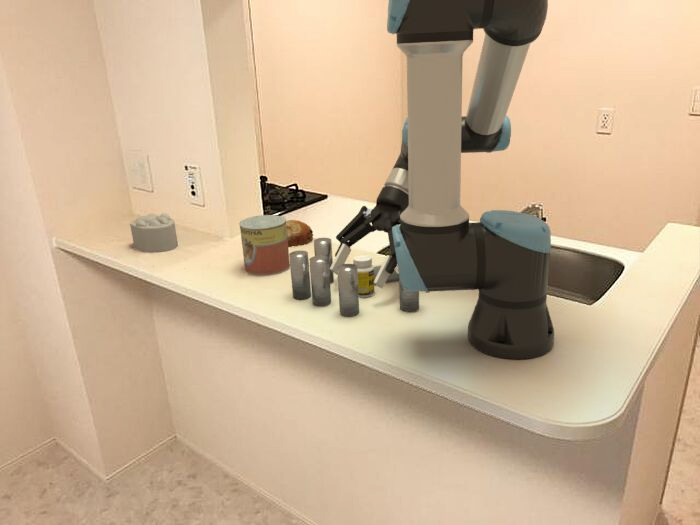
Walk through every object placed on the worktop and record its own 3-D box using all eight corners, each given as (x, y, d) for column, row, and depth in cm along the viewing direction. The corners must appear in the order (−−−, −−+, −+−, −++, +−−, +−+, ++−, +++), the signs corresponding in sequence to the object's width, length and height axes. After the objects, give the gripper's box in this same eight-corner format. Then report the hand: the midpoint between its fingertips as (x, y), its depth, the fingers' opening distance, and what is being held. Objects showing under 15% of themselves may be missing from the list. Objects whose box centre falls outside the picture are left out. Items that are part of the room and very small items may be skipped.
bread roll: (284, 248, 174) (270, 225, 171) (315, 231, 173) (301, 208, 170) (284, 260, 164) (269, 236, 161) (317, 242, 164) (302, 218, 161)
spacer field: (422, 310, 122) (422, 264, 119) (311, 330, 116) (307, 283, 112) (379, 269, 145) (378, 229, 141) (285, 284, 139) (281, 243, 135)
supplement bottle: (372, 298, 129) (371, 262, 126) (351, 297, 130) (349, 261, 127) (376, 289, 133) (375, 254, 130) (355, 289, 134) (353, 253, 131)
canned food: (236, 268, 150) (230, 222, 146) (273, 256, 157) (269, 212, 153) (260, 279, 142) (255, 231, 138) (299, 267, 149) (295, 220, 144)
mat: (402, 280, 137) (402, 277, 137) (365, 286, 135) (365, 283, 135) (388, 267, 145) (388, 264, 145) (353, 273, 143) (353, 270, 143)
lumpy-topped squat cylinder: (161, 237, 177) (156, 209, 174) (187, 245, 169) (182, 215, 166) (129, 247, 170) (124, 217, 167) (154, 256, 162) (149, 225, 159)
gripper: (451, 210, 128) (408, 299, 123) (365, 195, 144) (324, 273, 139) (436, 191, 122) (391, 284, 118) (349, 178, 138) (306, 258, 133)
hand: (355, 278), depth 128 cm, fingers open, 12 cm apart
